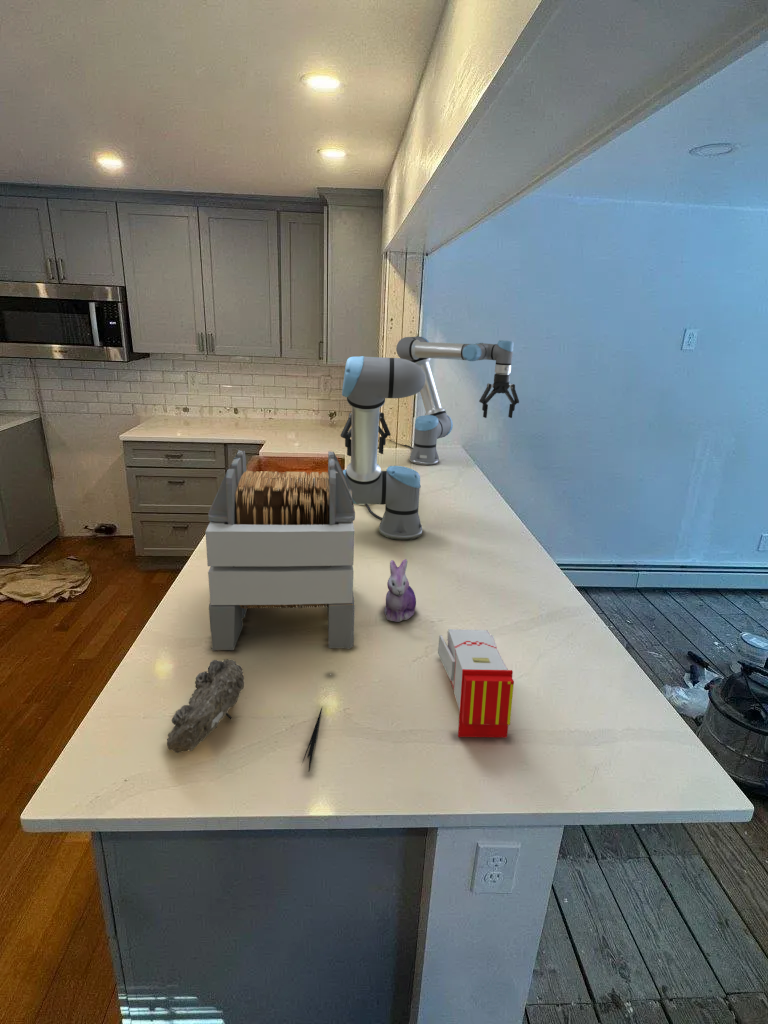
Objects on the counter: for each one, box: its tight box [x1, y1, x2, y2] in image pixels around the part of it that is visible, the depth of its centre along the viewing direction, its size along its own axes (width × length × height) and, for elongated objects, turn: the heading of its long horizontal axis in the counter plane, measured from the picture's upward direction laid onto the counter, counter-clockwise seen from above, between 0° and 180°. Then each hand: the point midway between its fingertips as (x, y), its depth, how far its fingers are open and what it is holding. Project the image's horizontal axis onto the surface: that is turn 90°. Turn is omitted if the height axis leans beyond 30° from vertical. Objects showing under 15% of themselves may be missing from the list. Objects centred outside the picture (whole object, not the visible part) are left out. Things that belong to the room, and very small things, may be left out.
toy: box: [437, 628, 515, 738], centre depth 117 cm, size 12×13×30 cm
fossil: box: [166, 658, 245, 754], centre depth 106 cm, size 22×10×15 cm
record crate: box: [204, 449, 356, 652], centre depth 138 cm, size 34×33×41 cm
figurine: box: [384, 558, 417, 623], centre depth 145 cm, size 9×10×15 cm
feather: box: [301, 673, 332, 771], centre depth 108 cm, size 2×28×2 cm
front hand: (365, 454), depth 224 cm, fingers open, 13 cm apart
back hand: (497, 417), depth 282 cm, fingers open, 13 cm apart
